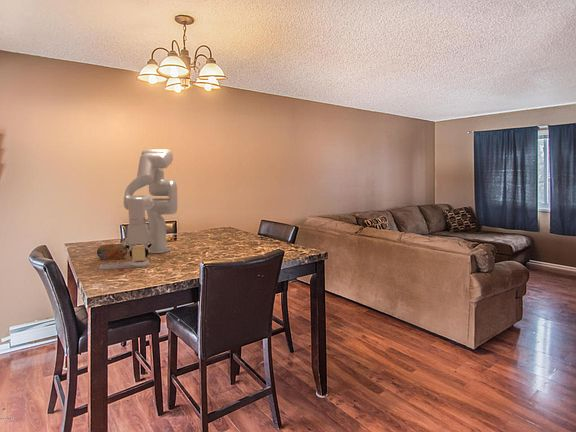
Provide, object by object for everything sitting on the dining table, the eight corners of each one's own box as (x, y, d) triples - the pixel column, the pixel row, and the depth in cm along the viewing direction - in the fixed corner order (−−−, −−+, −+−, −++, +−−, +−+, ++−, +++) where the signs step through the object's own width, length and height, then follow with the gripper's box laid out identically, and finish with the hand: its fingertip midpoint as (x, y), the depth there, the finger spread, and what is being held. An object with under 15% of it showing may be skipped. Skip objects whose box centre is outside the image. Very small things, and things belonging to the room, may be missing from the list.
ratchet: (102, 266, 182) (101, 254, 181) (149, 262, 189) (149, 251, 188) (98, 271, 173) (97, 258, 172) (148, 267, 180) (148, 255, 179)
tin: (97, 260, 194) (96, 245, 193) (99, 259, 197) (98, 243, 196) (127, 259, 197) (126, 243, 196) (128, 257, 200) (127, 242, 199)
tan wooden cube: (133, 258, 184) (132, 246, 184) (146, 257, 186) (145, 245, 186) (132, 260, 179) (131, 249, 178) (145, 259, 181) (144, 248, 180)
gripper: (156, 220, 186) (157, 254, 189) (119, 221, 181) (121, 256, 183) (155, 222, 179) (157, 257, 182) (117, 223, 174) (119, 260, 176)
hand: (139, 256), depth 182 cm, fingers closed on tan wooden cube, 5 cm apart
